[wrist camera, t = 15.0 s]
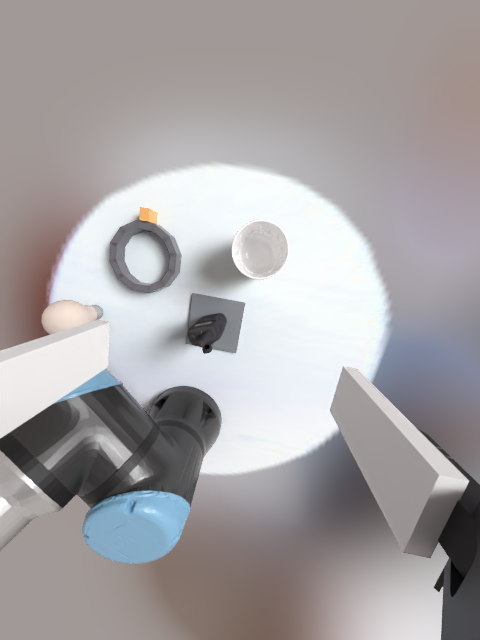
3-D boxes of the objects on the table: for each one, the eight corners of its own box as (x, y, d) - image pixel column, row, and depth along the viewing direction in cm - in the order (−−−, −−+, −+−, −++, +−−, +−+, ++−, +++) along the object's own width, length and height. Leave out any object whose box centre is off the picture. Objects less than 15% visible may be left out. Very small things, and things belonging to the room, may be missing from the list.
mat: (236, 351, 45) (236, 352, 44) (187, 342, 45) (186, 343, 45) (245, 302, 43) (244, 303, 42) (193, 293, 43) (192, 293, 42)
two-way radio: (226, 310, 43) (210, 332, 28) (231, 332, 44) (218, 365, 29) (198, 315, 43) (168, 339, 29) (203, 337, 44) (177, 371, 30)
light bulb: (113, 295, 44) (67, 304, 34) (116, 328, 46) (73, 346, 35) (81, 293, 45) (25, 302, 34) (85, 326, 46) (33, 343, 35)
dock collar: (177, 295, 43) (171, 297, 40) (117, 284, 44) (106, 285, 41) (185, 217, 40) (179, 214, 37) (120, 206, 40) (109, 202, 38)
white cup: (275, 281, 41) (281, 285, 32) (233, 272, 42) (226, 273, 32) (286, 236, 40) (296, 226, 30) (242, 227, 40) (237, 213, 30)
